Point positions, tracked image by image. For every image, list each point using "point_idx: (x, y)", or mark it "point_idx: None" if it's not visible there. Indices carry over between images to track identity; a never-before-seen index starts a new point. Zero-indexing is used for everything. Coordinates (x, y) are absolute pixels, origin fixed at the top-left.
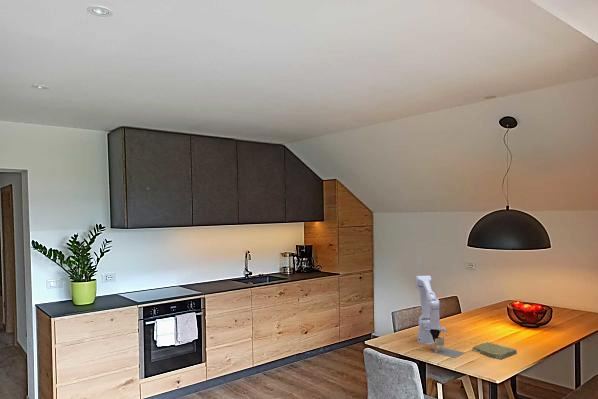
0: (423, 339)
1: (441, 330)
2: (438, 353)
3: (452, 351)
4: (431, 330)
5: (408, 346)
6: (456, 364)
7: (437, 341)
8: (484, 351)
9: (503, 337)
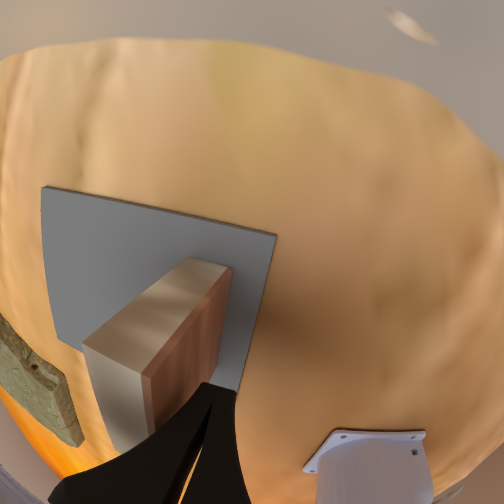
0: (387, 458)
1: (14, 493)
2: (178, 238)
3: None
4: None
5: (494, 331)
6: (28, 83)
7: (116, 332)
8: (3, 341)
9: None
